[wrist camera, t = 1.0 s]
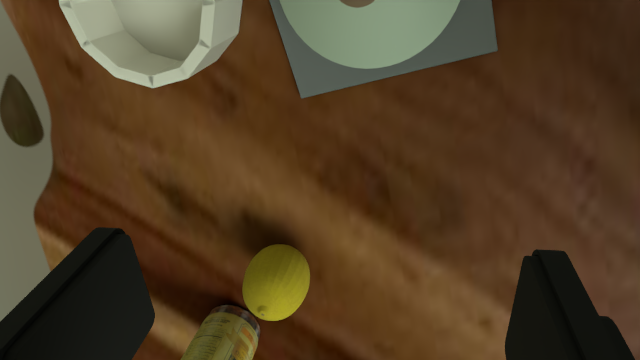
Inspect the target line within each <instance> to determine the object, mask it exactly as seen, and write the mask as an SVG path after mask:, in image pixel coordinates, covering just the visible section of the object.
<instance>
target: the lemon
mask: <svg viewBox="0 0 640 360" xmlns="http://www.w3.org/2000/svg"><path fill="white" fill-rule="evenodd" d="M309 282H310V271H309V266H308V263H307V261H306V259H305V257H304V256H303V255H302V254H301V253H300V252H299V251H298V250H297V249H295V248H294V247H291V246H289V245H284V244H275V245H271V246H268V247H266V248H264V249H262V250H261V251H260V252H259V253H258V254H257V255H255V257H254V258H253V259H252V260H251V262H250V264H249V266H248V268H247V270H246V272H245V276H244V281H243V298H244V301H245V303H246V305H247V307H248V309H249V310H250V311H251V312H252V313H253V314H254V315H256V316H257V317H259V318H261V319H264V320H268V321H277V320H281V319H284V318H286V317H288V316H290V315H291V314H293V313H294V312H295V311H296V310H297V308H298V307H299V306H300V305H301V303H302V302H303V300H304V298H305V296H306V293H307V291H308V288H309Z"/></svg>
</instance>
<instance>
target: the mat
mask: <svg viewBox="0 0 640 360" xmlns="http://www.w3.org/2000/svg"><path fill="white" fill-rule="evenodd" d="M269 1H270V4H271V7H272V10H273V13H274V16H275V19H276V22H277V25H278V28H279V31H280V34H281V37H282V41H283V44H284V47H285V50H286V53H287V56H288V59H289V62H290V65H291V68H292V71H293V74H294V77H295V80H296V84H297V87H298V90H299V93H300V96H301V98H305V97H309V96H313V95H317V94H321V93H326V92H330V91H334V90H338V89H342V88H346V87H350V86H354V85H359V84H363V83H367V82H371V81H375V80H379V79H383V78H388V77H392V76H396V75H400V74H404V73H408V72H412V71H416V70H421V69H425V68H429V67H433V66H437V65H441V64H445V63H449V62H454V61H458V60H462V59H466V58H470V57H474V56H478V55H482V54H487V53H491V52H495V51H498V49H497V41H496V33H495V25H494V17H493V9H492V1H491V0H460V2H459V4H458V6H457V9H456V11H455V13H454V14H453V16H452V18H451V20H450V21H449V23H448V24H447V26H446V27H445V28H444V30H443V31H442V32H441V33H440V34H439V36H438V37H437V38H436V39H435V40H434V41H433V42H432V43H431V44H429V45H428V46H427V47H426V48H424V49H423V50H422V51H421V52H419V53H417V54H416V55H414V56H413V57H411V58H409V59H407V60H404V61H402V62H400V63H397V64H394V65H391V66H387V67H381V68H371V69H363V68H353V67H348V66H344V65H341V64H338V63H335V62H333V61H331V60H329V59H327V58H325V57H323V56H321V55H320V54H318V53H317V52H315V51H314V50H313V49H312V48H310V47H309V46H308V45H307V44H306V43H305V42H304V41H303V40H302V39H301V38H300V37H299V35H298V34H297V33H296V32H295V30H294V29H293V27H292V26H291V24H290V23H289V21H288V19H287V17H286V15H285V13H284V11H283V8H282V6H281V3H280V0H269Z"/></svg>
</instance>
